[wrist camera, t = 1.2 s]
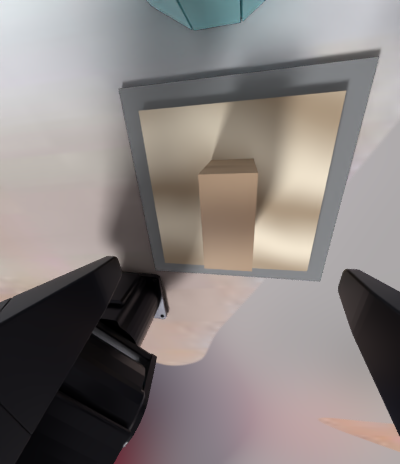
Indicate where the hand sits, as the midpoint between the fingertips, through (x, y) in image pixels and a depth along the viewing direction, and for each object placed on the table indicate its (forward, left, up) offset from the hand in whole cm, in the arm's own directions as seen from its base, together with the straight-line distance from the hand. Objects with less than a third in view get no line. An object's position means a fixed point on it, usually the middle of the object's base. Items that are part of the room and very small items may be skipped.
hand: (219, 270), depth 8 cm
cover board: (0, 0, -10) cm, 10 cm away
